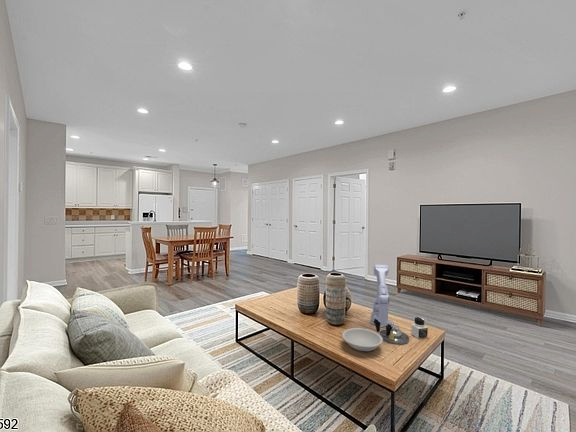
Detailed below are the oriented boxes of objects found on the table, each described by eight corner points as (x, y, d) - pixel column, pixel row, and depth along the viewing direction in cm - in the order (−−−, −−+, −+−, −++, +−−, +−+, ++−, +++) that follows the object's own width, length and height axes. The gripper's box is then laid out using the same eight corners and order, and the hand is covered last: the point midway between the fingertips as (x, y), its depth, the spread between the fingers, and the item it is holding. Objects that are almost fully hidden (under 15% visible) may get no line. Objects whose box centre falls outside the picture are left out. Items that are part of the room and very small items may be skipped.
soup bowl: (352, 334, 185) (352, 324, 185) (388, 346, 170) (388, 335, 170) (334, 348, 167) (334, 337, 166) (373, 363, 151) (373, 351, 151)
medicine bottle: (418, 339, 179) (419, 321, 178) (410, 334, 186) (411, 316, 185) (427, 338, 181) (428, 320, 180) (419, 333, 188) (420, 315, 187)
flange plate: (373, 335, 183) (374, 333, 183) (390, 329, 193) (390, 326, 193) (398, 347, 168) (398, 344, 168) (414, 339, 178) (414, 337, 178)
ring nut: (386, 339, 175) (386, 334, 175) (387, 328, 190) (387, 324, 190) (401, 342, 171) (401, 337, 171) (401, 331, 186) (401, 326, 186)
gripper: (370, 310, 183) (369, 330, 183) (389, 318, 171) (389, 339, 172) (377, 308, 187) (376, 328, 188) (396, 315, 175) (395, 336, 176)
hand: (383, 333), depth 180 cm, fingers open, 7 cm apart
